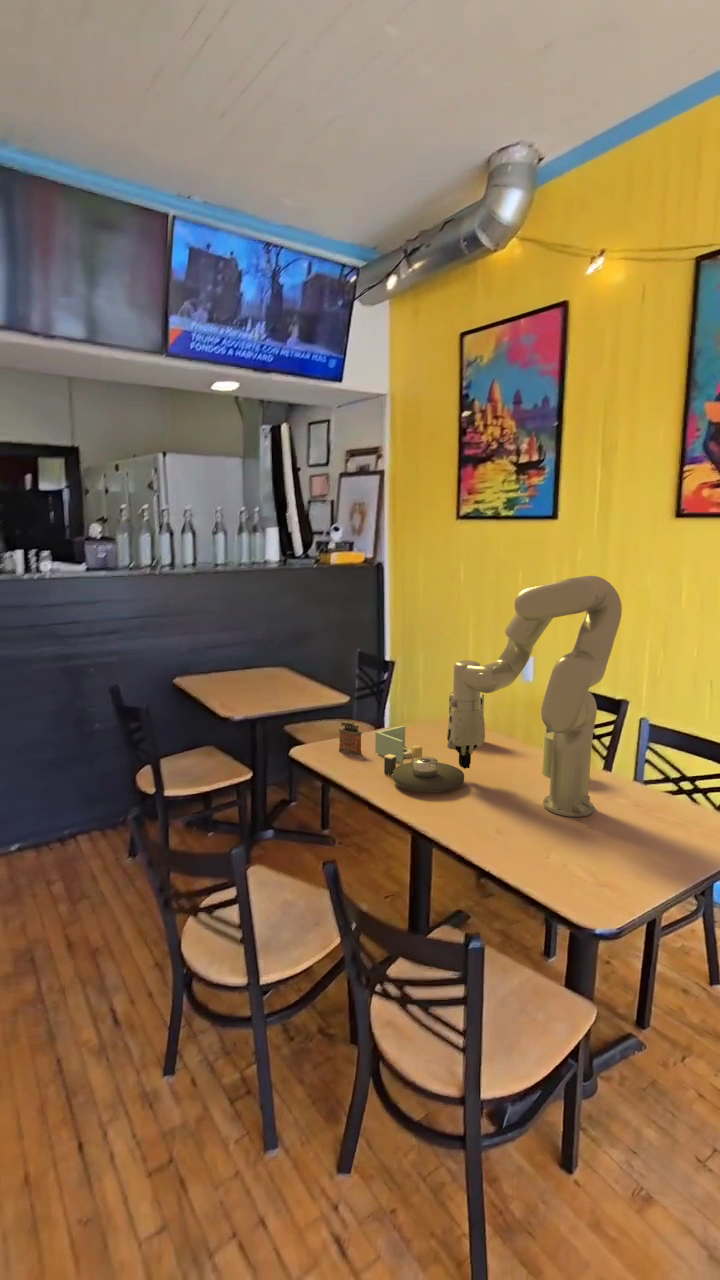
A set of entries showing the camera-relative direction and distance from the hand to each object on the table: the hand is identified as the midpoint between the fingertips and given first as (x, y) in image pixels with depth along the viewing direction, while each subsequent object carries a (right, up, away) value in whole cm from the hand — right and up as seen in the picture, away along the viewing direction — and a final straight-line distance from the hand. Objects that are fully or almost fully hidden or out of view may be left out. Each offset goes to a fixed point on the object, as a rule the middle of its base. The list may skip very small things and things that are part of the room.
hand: (464, 766), depth 195 cm
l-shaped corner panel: (-17, -1, +22) cm, 28 cm away
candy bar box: (+6, +2, +36) cm, 37 cm away
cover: (-12, -1, -4) cm, 12 cm away
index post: (-21, -3, +5) cm, 22 cm away
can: (+29, -3, +6) cm, 29 cm away
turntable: (-11, -3, -3) cm, 11 cm away
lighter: (-33, 0, +23) cm, 40 cm away
